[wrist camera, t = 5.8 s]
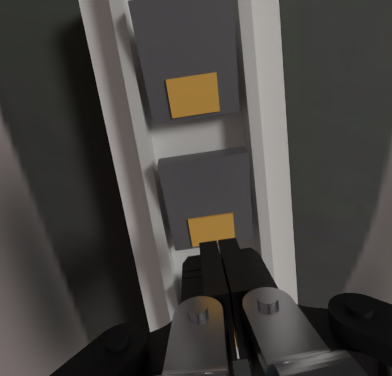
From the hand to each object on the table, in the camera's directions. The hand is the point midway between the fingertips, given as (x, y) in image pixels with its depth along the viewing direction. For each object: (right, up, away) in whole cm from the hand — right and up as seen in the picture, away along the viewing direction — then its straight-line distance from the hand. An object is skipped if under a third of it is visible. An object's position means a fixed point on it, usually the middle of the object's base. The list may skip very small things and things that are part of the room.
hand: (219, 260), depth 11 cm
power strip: (0, +3, +8) cm, 9 cm away
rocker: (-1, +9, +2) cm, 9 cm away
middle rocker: (0, +2, +3) cm, 4 cm away
